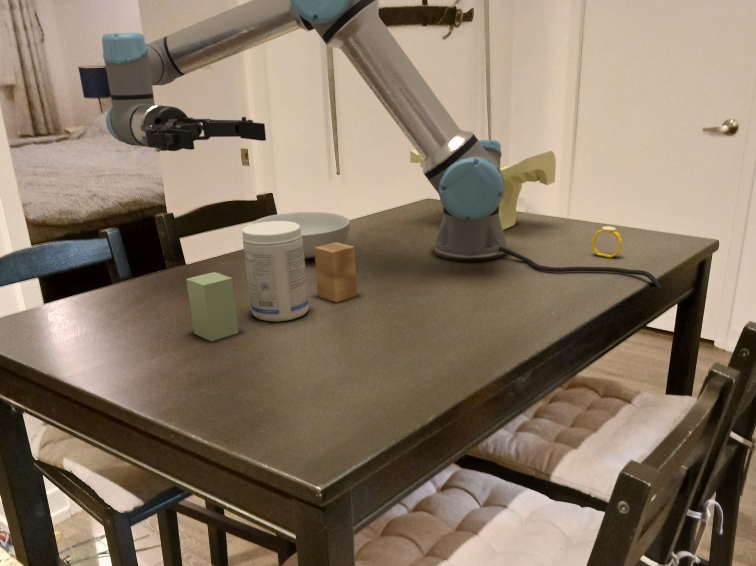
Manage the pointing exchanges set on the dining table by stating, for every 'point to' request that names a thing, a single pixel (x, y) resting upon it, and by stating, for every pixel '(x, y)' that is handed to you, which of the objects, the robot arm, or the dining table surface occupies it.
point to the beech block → (336, 271)
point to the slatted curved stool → (516, 180)
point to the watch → (607, 230)
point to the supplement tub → (276, 270)
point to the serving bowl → (315, 228)
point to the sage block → (212, 306)
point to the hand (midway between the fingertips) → (228, 136)
